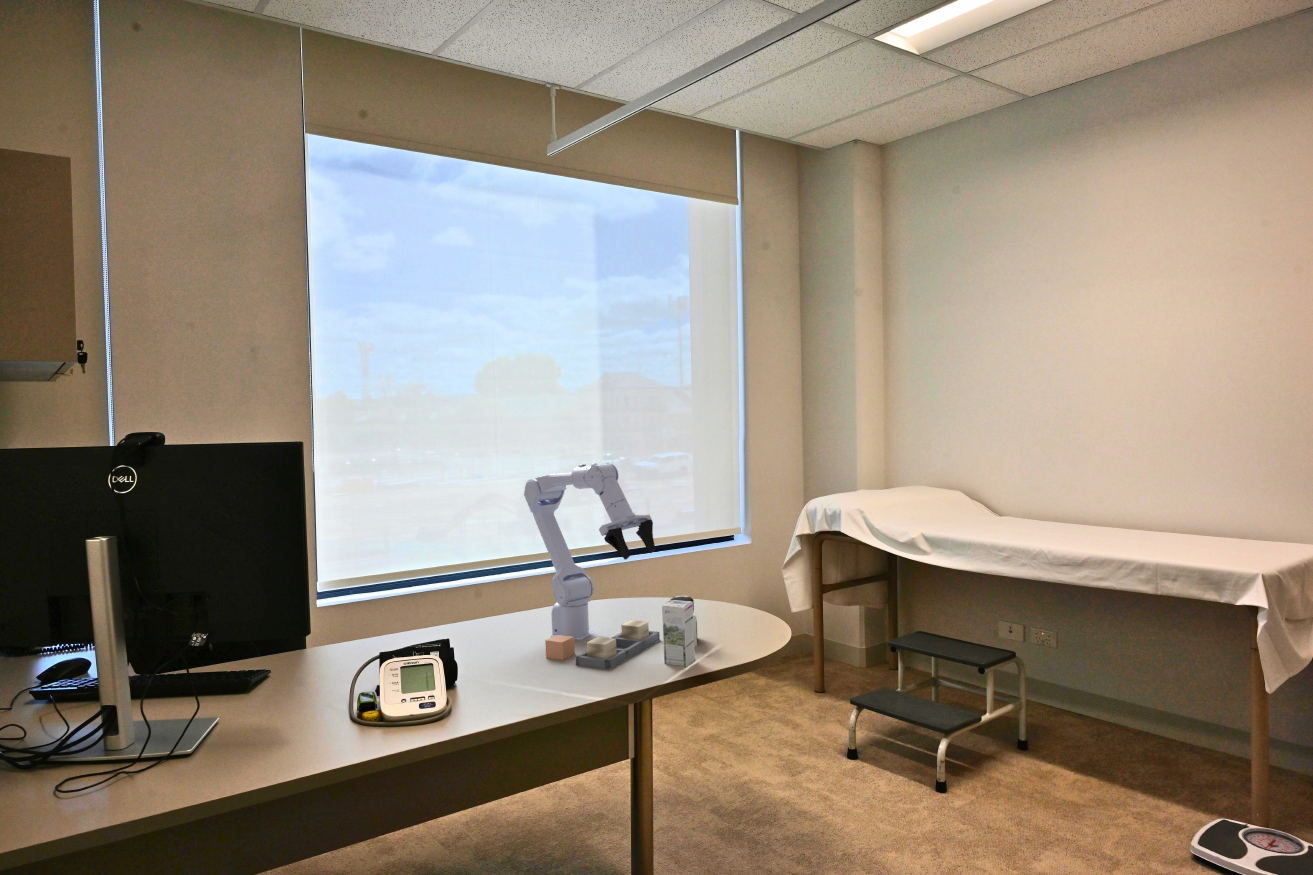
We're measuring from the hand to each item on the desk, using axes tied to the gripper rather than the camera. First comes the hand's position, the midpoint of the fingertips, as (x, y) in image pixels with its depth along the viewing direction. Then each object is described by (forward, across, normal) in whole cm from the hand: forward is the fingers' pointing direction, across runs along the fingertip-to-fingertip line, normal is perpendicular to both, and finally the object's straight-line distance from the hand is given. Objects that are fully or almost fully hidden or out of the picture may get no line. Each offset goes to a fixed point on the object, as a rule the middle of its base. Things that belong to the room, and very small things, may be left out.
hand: (640, 554), depth 196 cm
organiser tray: (+17, -5, +19) cm, 26 cm away
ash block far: (+15, +3, +22) cm, 26 cm away
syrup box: (+26, +1, +6) cm, 27 cm away
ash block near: (+18, -12, +16) cm, 27 cm away
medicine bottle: (+21, +12, +16) cm, 28 cm away
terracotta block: (+12, -17, +25) cm, 32 cm away
